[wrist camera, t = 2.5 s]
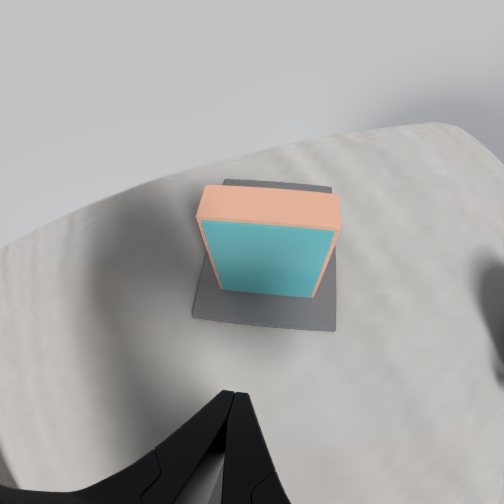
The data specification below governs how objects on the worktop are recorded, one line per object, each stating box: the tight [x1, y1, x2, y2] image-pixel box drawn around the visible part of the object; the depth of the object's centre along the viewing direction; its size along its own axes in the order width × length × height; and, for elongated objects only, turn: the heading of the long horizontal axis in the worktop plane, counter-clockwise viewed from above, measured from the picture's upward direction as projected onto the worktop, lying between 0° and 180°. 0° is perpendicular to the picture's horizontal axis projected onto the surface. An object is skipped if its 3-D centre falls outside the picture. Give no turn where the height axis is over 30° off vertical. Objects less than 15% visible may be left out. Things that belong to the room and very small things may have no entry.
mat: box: [192, 179, 336, 332], centre depth 26 cm, size 16×12×1 cm
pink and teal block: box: [196, 185, 341, 298], centre depth 20 cm, size 3×8×10 cm, turn 83°
